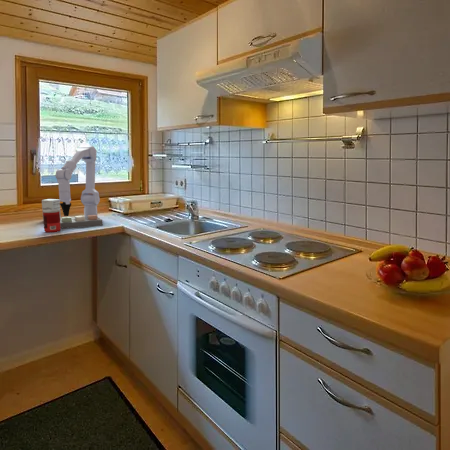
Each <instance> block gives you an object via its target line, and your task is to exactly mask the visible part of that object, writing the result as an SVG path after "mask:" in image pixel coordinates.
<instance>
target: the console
mask: <svg viewBox="0 0 450 450" xmlns="http://www.w3.org/2000/svg"><path fill="white" fill-rule="evenodd" d="M71 219H72V221H70V222H62V219H61V220H60V225H61V229H62V230H64V229H75V228H84V227H85V228H86V227H97V226H98V227H99V226H103V224H104V223H103V222H104V220H103V219H101V218H100V217H97V219H95V220H88V218H85V220H82V221H75V218H71Z"/></svg>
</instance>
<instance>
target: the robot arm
mask: <svg viewBox="0 0 450 450" xmlns="http://www.w3.org/2000/svg"><path fill="white" fill-rule="evenodd" d="M81 160H82V161H84V162H85V189H84V190H82V192H81V195H80V202H81V203H82V205H83V206H84V208H83V216H84V217H85V218H88V215H97V217H98V205H99V204H100V201H101V199H100V193H99V191H98V190H97V189H95V188H96V160H97V149H96V148H95V146H94V145H89V146H88V145H85V146H84V145H78V146H77V148H75V153H74V155H73V156H72V157H71V159H68V160H66V162H65V163H64V164H63V166H62V167H61V168H60V169H57V170H56V171H55V175H54V176H55V179H56V181H57V185H58V196H59V197H58V198H59V200H57V201H60V208H61V211H62V214H63V217H70V216H69V215H70V211H71V206H72V202H71V201H72V198H71V197H72V196H71V186H70V185H71V182H70V180H71V179H72V177H73V173H74V171H75V170H76V168H77V167H78V165H77V164H78V163H79V162H80V161H81ZM61 202H62V203H61ZM98 218H99V217H98Z"/></svg>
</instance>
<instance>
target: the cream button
mask: <svg viewBox="0 0 450 450" xmlns="http://www.w3.org/2000/svg"><path fill="white" fill-rule="evenodd" d="M74 219H75V221H82V220H85V217H84V215H75V216H74Z"/></svg>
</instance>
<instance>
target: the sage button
mask: <svg viewBox="0 0 450 450" xmlns="http://www.w3.org/2000/svg"><path fill="white" fill-rule="evenodd" d="M72 219H73V218H72V217H71V216H62V217H61V220H62V222H70V221H72Z"/></svg>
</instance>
